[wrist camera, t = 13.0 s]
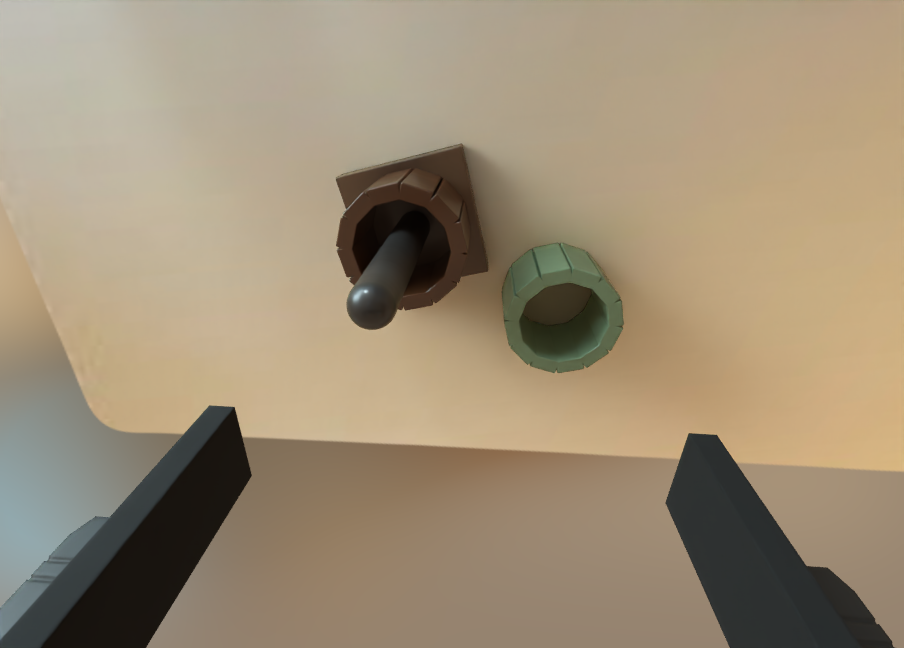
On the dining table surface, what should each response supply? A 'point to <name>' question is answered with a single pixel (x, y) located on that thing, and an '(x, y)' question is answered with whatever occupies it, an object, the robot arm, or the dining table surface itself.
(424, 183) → the walnut ring
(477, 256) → the ring post
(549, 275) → the sage ring
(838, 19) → the dining table surface
